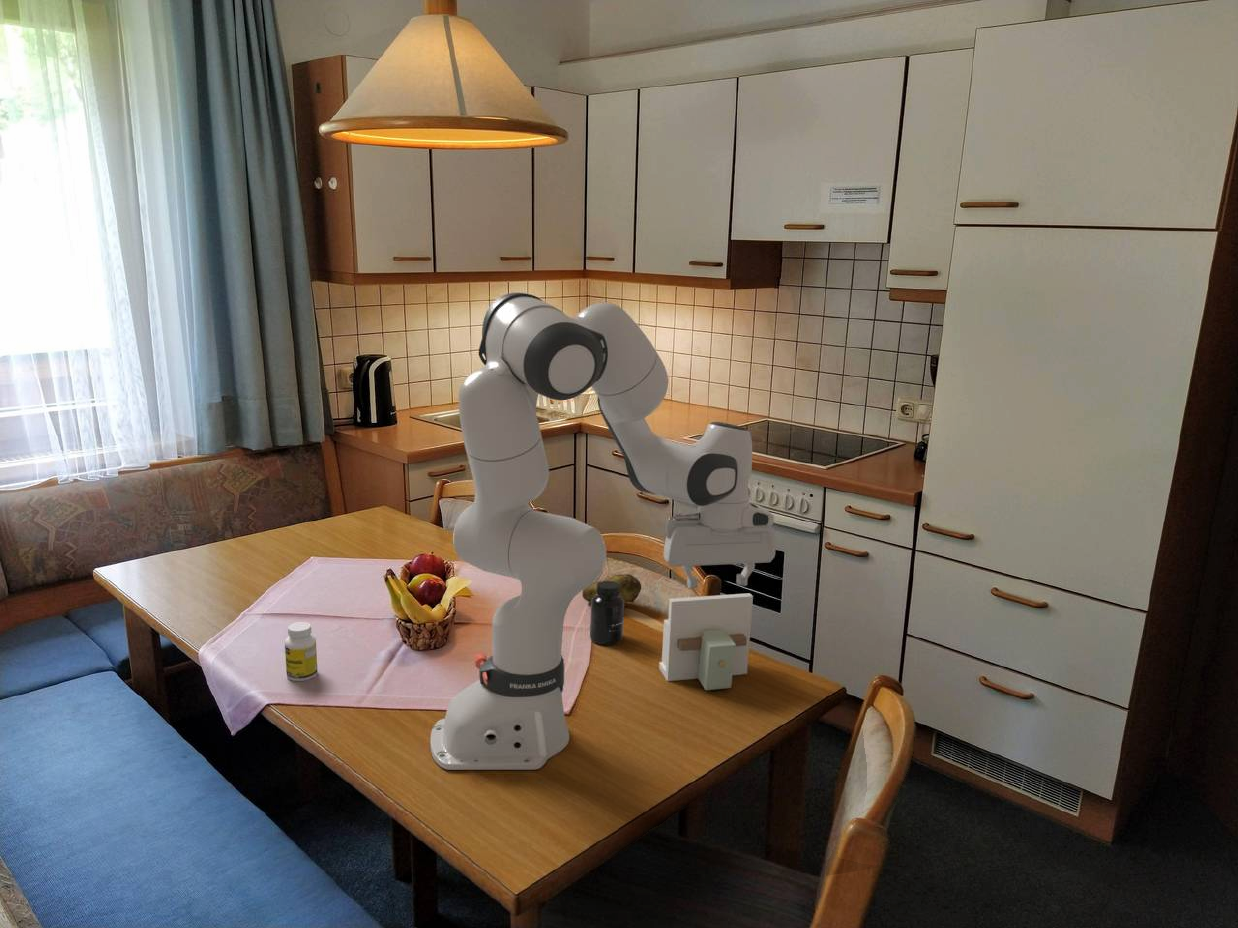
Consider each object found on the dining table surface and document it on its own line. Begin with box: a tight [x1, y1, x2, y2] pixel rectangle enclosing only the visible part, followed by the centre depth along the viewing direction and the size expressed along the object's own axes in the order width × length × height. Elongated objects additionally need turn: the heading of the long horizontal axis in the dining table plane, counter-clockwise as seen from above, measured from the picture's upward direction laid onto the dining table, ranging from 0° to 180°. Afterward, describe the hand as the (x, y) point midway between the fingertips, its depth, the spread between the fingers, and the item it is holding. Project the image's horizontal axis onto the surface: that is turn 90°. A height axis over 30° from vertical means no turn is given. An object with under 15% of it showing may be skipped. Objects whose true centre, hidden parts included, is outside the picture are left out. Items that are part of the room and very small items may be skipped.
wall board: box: [658, 592, 754, 682], centre depth 170 cm, size 16×8×16 cm, turn 105°
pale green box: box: [697, 629, 736, 691], centre depth 165 cm, size 5×7×9 cm
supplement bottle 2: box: [589, 580, 625, 646], centre depth 183 cm, size 7×7×12 cm
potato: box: [582, 573, 642, 604], centre depth 200 cm, size 8×13×8 cm, turn 54°
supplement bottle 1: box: [284, 621, 318, 682], centre depth 164 cm, size 5×5×10 cm
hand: (717, 586), depth 162 cm, fingers open, 8 cm apart
